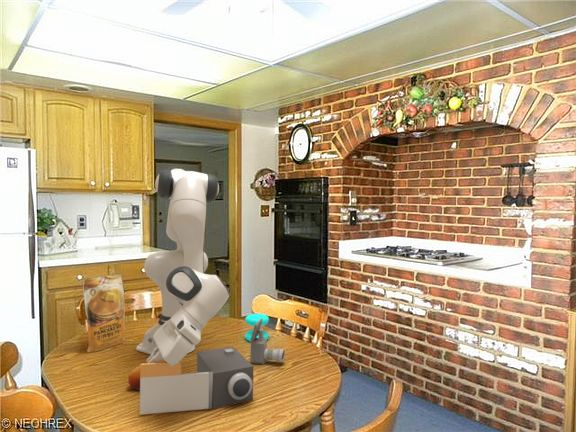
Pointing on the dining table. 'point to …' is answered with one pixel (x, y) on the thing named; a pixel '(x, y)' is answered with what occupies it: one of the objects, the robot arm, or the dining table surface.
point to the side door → (173, 389)
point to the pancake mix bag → (104, 311)
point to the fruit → (134, 378)
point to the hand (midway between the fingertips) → (149, 364)
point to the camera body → (227, 375)
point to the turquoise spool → (253, 320)
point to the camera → (263, 347)
